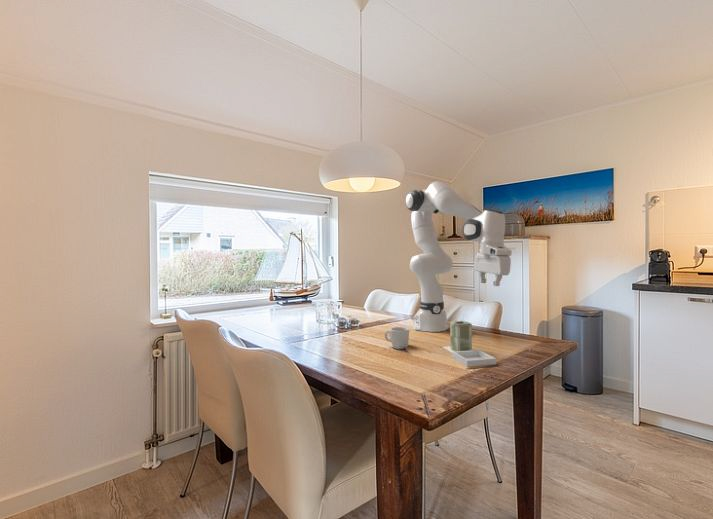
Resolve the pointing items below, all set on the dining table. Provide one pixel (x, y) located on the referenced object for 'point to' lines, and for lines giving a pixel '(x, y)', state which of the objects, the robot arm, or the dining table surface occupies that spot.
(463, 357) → the tray
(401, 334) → the cup
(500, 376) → the dining table surface
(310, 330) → the dining table surface
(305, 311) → the dining table surface
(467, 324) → the sleeve
